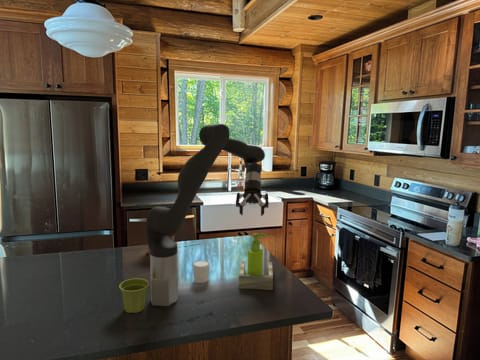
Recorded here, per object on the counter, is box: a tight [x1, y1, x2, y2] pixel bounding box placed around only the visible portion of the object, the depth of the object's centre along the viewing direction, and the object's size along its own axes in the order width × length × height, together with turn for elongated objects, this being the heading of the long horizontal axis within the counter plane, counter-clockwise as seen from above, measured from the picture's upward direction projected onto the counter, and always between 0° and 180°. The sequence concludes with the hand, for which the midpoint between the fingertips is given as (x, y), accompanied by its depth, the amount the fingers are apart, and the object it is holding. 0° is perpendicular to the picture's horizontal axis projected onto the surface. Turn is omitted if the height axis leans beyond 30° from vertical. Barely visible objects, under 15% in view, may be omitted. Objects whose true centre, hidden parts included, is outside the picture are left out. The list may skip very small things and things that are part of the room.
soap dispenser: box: [247, 232, 267, 275], centre depth 132 cm, size 6×7×20 cm
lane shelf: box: [238, 260, 274, 291], centre depth 136 cm, size 18×13×5 cm
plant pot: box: [118, 277, 150, 314], centre depth 111 cm, size 9×9×9 cm
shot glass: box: [192, 260, 211, 284], centre depth 134 cm, size 7×7×7 cm
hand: (251, 214), depth 143 cm, fingers open, 8 cm apart
